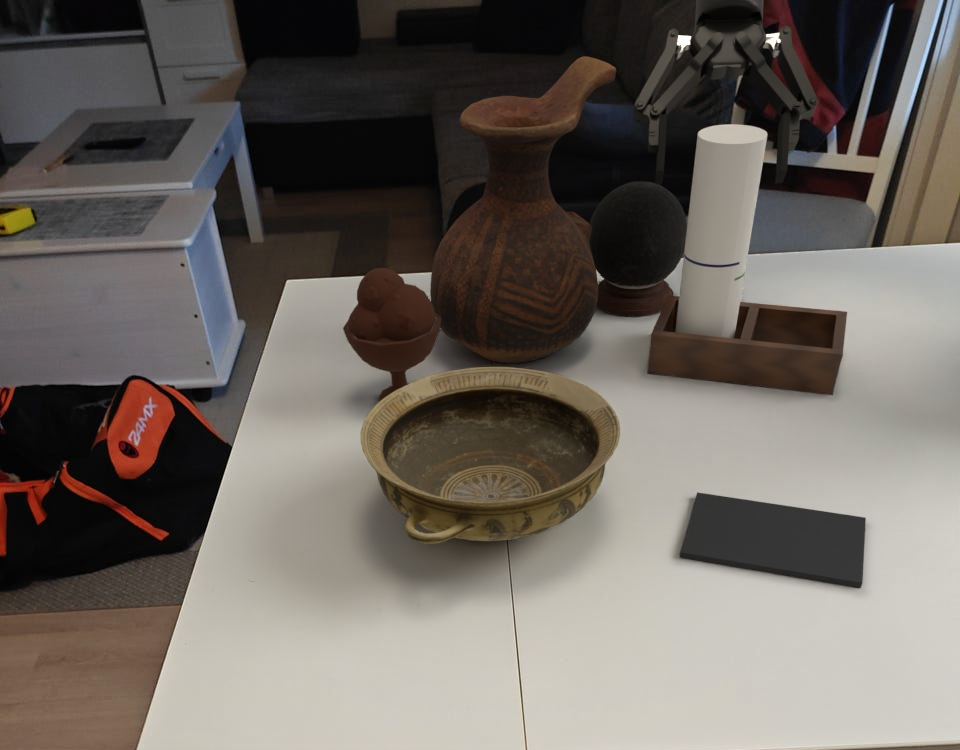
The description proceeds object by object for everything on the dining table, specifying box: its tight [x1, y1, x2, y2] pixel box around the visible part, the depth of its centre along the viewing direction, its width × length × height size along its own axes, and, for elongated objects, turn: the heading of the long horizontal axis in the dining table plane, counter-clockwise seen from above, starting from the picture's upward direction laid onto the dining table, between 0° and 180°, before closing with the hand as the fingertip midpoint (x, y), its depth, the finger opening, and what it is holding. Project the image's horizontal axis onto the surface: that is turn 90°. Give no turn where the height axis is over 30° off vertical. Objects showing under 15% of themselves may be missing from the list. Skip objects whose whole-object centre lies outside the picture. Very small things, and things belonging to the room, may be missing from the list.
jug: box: [429, 56, 617, 364], centre depth 105 cm, size 22×22×30 cm
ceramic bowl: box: [360, 366, 621, 545], centre depth 85 cm, size 30×24×10 cm
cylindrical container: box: [675, 123, 769, 338], centre depth 101 cm, size 7×7×25 cm
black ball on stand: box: [589, 180, 688, 317], centre depth 117 cm, size 13×13×15 cm
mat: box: [679, 492, 867, 588], centre depth 83 cm, size 16×10×1 cm, turn 71°
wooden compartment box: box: [647, 295, 848, 395], centre depth 106 cm, size 22×11×5 cm, turn 71°
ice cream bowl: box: [342, 267, 441, 403], centre depth 100 cm, size 11×11×15 cm
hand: (719, 177), depth 100 cm, fingers open, 13 cm apart
